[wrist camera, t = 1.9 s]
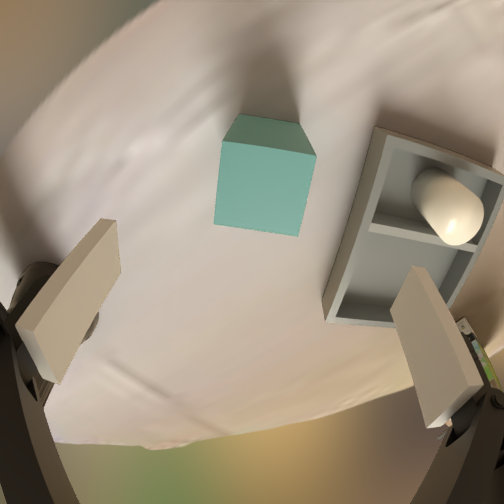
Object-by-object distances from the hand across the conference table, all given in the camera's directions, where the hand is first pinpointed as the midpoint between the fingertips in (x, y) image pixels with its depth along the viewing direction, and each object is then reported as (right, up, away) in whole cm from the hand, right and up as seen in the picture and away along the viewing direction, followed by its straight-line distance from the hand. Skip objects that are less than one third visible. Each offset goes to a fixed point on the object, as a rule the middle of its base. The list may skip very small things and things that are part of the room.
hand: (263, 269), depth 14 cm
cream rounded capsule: (+20, +8, +18) cm, 27 cm away
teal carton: (+1, +11, +18) cm, 21 cm away
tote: (+19, +3, +22) cm, 29 cm away
